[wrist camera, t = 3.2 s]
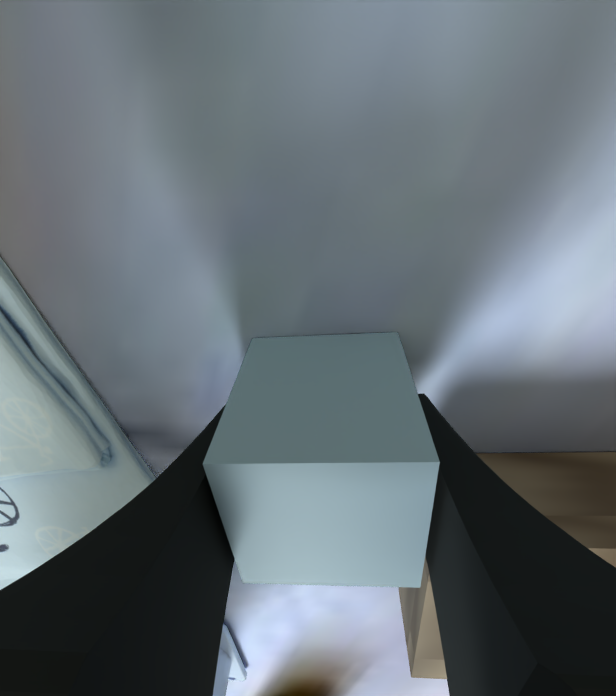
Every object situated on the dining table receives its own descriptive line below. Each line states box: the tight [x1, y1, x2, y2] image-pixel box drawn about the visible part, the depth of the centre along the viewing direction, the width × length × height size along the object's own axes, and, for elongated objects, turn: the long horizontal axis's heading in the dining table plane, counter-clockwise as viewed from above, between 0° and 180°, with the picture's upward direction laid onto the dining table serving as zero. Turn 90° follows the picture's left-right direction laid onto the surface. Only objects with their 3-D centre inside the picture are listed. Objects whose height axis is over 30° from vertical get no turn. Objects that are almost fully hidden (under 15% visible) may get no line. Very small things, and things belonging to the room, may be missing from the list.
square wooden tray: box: [399, 452, 616, 679], centre depth 14 cm, size 10×10×4 cm
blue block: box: [203, 332, 440, 588], centre depth 10 cm, size 4×4×5 cm
